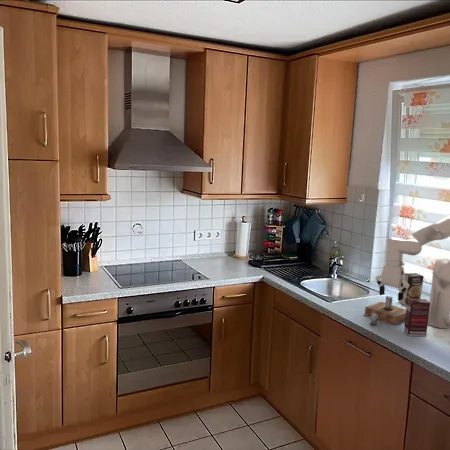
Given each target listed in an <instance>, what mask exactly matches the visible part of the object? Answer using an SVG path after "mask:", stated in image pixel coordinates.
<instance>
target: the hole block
mask: <svg viewBox="0 0 450 450" xmlns="http://www.w3.org/2000/svg"><path fill="white" fill-rule="evenodd" d="M372 313H375V314H378V320H379V321H382V322H384V323H387V324H390V325H393V326H396V325H399V324H401V323H403V322H405V316H406V309H405V308H402V307H399V306H395V305H393V304H392V307H391V311H387V310H385V302H383V301H379V302H375V303H372V304H370V305H367V306H365V308H364V316H365V315H366V316H369V317H370V318H371V314H372Z"/></svg>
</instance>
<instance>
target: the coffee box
mask: <svg viewBox="0 0 450 450" xmlns="http://www.w3.org/2000/svg"><path fill="white" fill-rule="evenodd" d="M424 278H425V277H424V275H421V274H419V273H416V272H414V273H413V272H411V273H410V272H409V273H407V272H406V273H405V272H404V280H405V281H406V282H407V283H408V284H409V285H410V286H409V287H408V289H407V290H406V291H405V292H404V293H403V299H402V300H398V303H401V304H402V305H404V306H405V307H407V299H422V298H421V297H422V291H423V283H424ZM404 287H405V285H404V286H403V288H404Z"/></svg>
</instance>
